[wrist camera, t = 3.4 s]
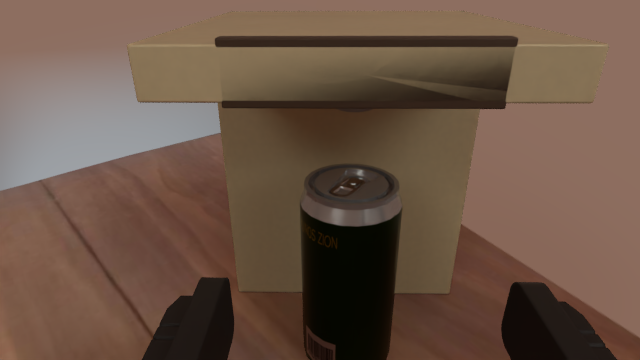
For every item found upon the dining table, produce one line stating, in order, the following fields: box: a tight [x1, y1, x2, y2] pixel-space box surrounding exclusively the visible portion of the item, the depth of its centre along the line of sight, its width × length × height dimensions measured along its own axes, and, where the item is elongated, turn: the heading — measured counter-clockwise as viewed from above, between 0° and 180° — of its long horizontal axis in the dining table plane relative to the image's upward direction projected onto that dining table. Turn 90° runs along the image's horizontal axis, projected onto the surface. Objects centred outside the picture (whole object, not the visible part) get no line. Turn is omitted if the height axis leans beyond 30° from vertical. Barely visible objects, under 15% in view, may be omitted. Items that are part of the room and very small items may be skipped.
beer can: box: [300, 163, 403, 360], centre depth 24 cm, size 5×5×12 cm
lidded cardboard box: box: [127, 11, 609, 294], centre depth 27 cm, size 20×16×20 cm
